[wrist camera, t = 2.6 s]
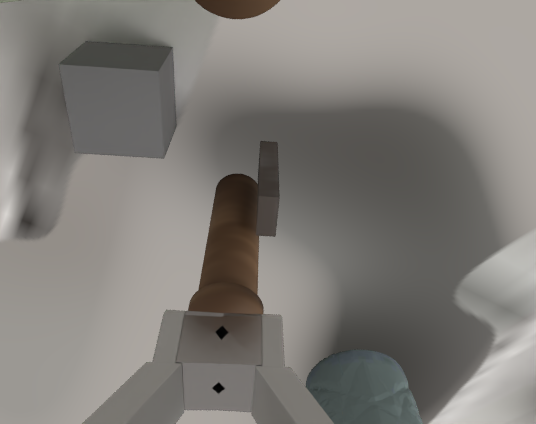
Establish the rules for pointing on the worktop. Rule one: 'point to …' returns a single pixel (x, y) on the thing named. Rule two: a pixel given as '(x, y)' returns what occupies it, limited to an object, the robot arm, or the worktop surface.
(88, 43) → the rubber block
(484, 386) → the worktop surface
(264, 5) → the hinge post
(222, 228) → the post
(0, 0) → the block
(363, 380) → the teal cup
